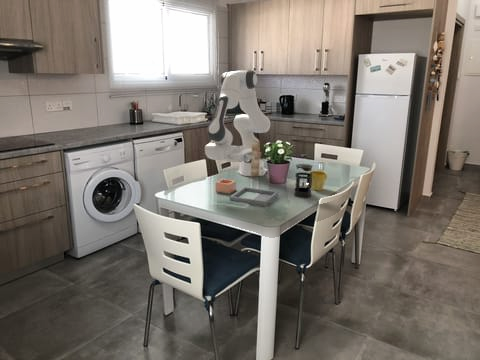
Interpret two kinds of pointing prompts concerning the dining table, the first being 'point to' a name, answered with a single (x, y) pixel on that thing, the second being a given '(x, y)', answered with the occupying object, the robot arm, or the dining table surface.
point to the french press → (300, 189)
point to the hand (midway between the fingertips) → (257, 156)
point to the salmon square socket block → (225, 186)
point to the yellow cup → (318, 179)
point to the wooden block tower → (255, 161)
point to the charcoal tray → (260, 200)
